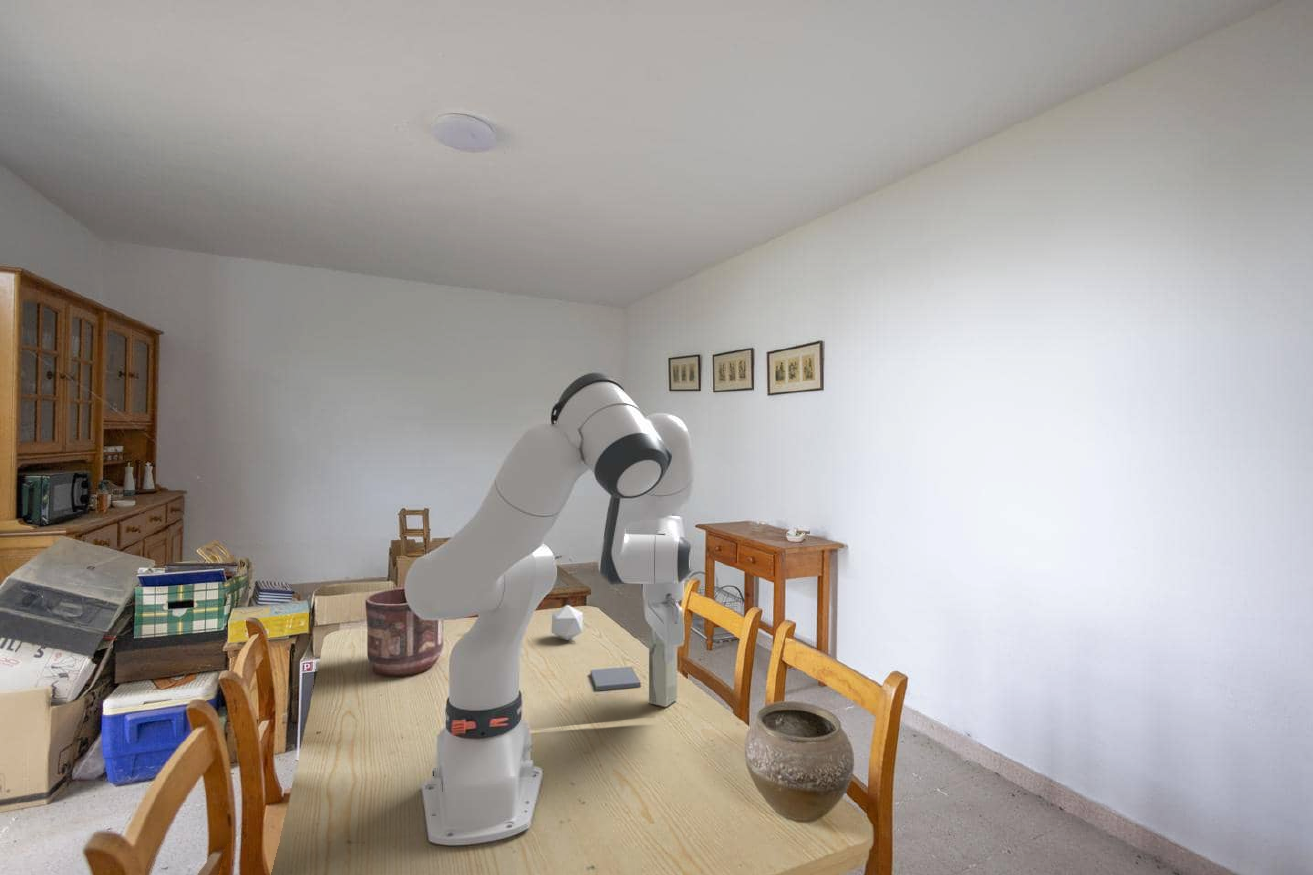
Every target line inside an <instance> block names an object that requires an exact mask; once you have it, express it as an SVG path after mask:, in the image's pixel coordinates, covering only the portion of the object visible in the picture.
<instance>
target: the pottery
mask: <svg viewBox="0 0 1313 875" xmlns="http://www.w3.org/2000/svg"><path fill="white" fill-rule="evenodd" d="M365 613H366V629H367V633H366V634H367V635H366V636H367V637H366V638H367V640H366V641H367V642H366V645H367V647H366V652H367V653H366V654H367V658H368V661H369V663H370V666H371V668H372V669H373V671H374V672H375V673H377V674H379V675H380V676H381V675H382V676H383V677H392V678H395V677H396V678H397V677H399V678H401V677H411V676H414V675H415V676H416V675H419V674H421V673H424V672H426V671H428V670H431V668H432V667H433V666H434V665H435V664H436V663H437V661H438V660H439V658H440V657H441V655H442V652H443V650H444V621H445V620H423V619H421V618H419V617H418V616H417V615H416V614H415V613H414V612H413V611H412V610H411V608H410V607H409V605H408V603H407V600H406V597H405V587H399V588H392V589H391V588H390V589H387V590H383V591H378V592H375V593H373V594H371V595H369V596H367V597H366V599H365Z"/></svg>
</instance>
